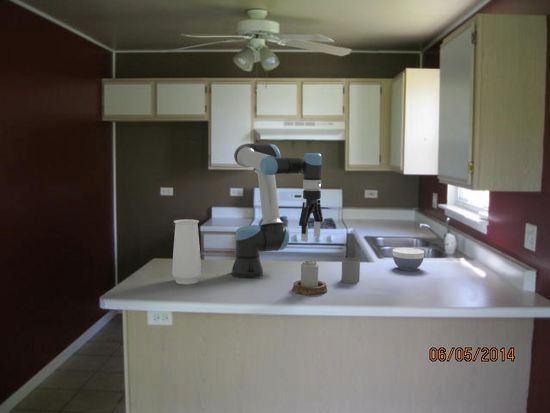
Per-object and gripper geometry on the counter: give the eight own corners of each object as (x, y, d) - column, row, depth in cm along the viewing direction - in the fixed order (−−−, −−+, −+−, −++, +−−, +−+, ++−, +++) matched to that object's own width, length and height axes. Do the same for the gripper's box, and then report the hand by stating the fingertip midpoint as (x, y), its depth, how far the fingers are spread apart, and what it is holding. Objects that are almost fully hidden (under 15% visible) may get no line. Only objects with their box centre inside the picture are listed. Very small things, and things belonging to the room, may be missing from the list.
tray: (286, 292, 225) (286, 285, 225) (301, 284, 239) (301, 277, 238) (319, 297, 219) (319, 290, 218) (332, 288, 232) (332, 282, 232)
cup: (358, 283, 241) (359, 262, 240) (340, 282, 243) (341, 261, 242) (359, 279, 250) (360, 258, 249) (342, 278, 251) (342, 257, 250)
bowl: (427, 267, 274) (428, 249, 273) (418, 273, 261) (418, 255, 260) (397, 263, 283) (398, 246, 282) (387, 269, 270) (388, 251, 269)
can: (299, 286, 232) (299, 259, 230) (316, 286, 232) (316, 259, 231) (302, 291, 224) (302, 263, 223) (319, 290, 225) (319, 263, 224)
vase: (205, 283, 239) (205, 222, 235) (178, 286, 232) (177, 224, 229) (194, 276, 250) (194, 218, 246) (168, 280, 243) (167, 220, 240)
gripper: (308, 192, 211) (307, 244, 214) (330, 188, 233) (329, 235, 236) (291, 191, 214) (290, 242, 217) (315, 187, 236) (314, 233, 239)
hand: (310, 239), depth 226 cm, fingers open, 13 cm apart
